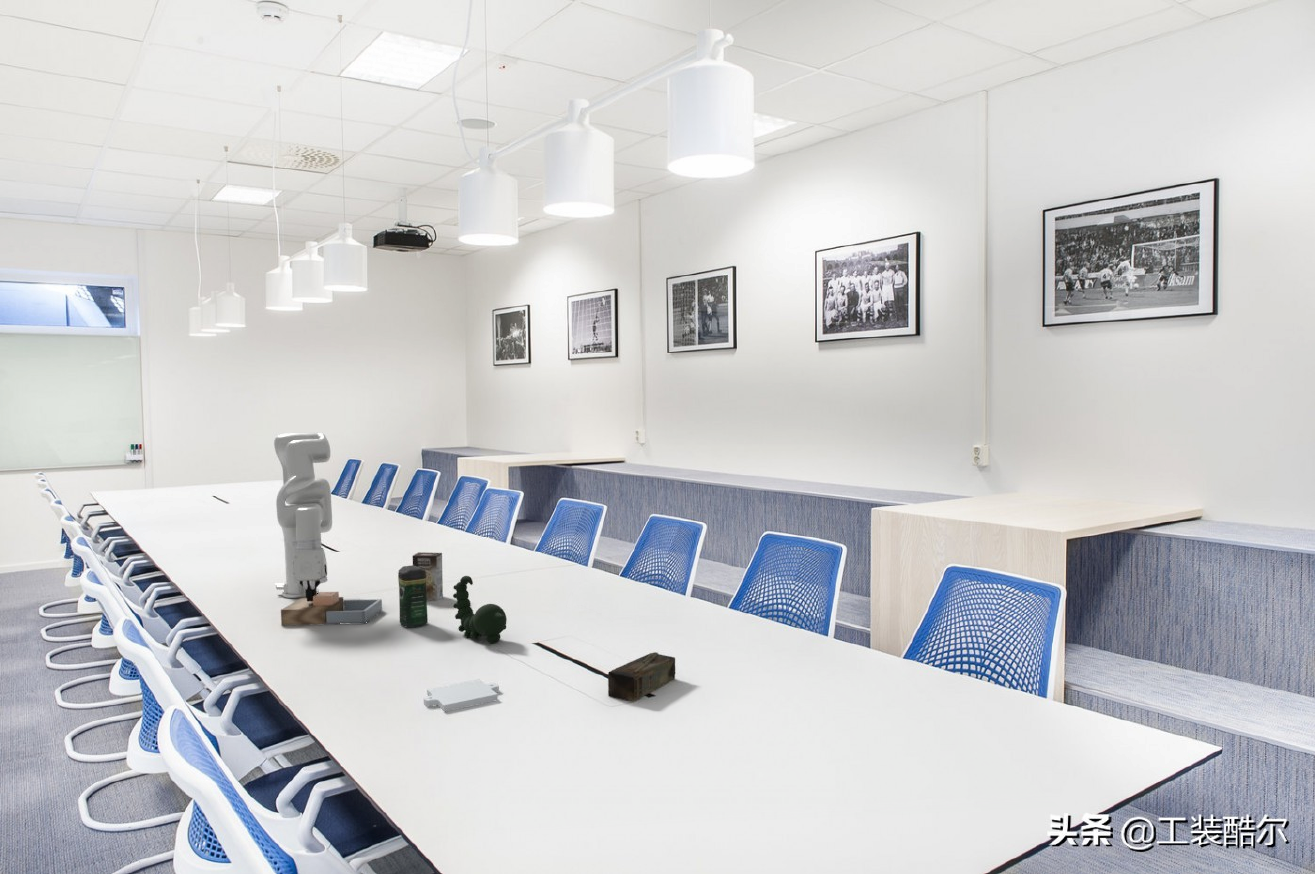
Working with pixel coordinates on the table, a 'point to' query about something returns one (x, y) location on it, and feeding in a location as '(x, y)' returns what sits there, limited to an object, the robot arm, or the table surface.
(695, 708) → the table surface
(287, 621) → the platform
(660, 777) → the table surface
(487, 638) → the toy figurine
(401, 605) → the coffee jar
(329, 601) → the block
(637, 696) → the dark brown boxy piece
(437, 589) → the coffee box
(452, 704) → the mounting plate
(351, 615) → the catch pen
